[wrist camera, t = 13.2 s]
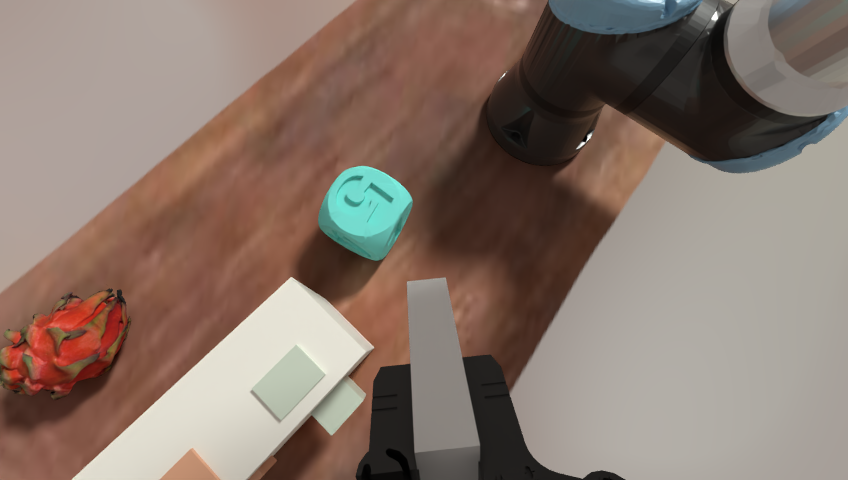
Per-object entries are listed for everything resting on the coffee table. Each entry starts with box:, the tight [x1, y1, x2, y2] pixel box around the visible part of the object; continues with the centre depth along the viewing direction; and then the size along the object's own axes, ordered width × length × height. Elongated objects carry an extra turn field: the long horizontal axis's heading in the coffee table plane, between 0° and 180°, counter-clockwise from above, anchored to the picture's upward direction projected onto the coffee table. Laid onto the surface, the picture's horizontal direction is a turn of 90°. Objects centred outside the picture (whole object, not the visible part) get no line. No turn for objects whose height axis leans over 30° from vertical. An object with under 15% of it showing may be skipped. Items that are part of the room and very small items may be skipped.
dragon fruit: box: [0, 288, 131, 400], centre depth 36 cm, size 8×8×12 cm
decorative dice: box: [318, 166, 413, 261], centre depth 42 cm, size 8×8×8 cm
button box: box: [72, 277, 374, 480], centre depth 31 cm, size 28×8×16 cm, turn 137°
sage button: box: [311, 375, 366, 436], centre depth 32 cm, size 4×5×4 cm
